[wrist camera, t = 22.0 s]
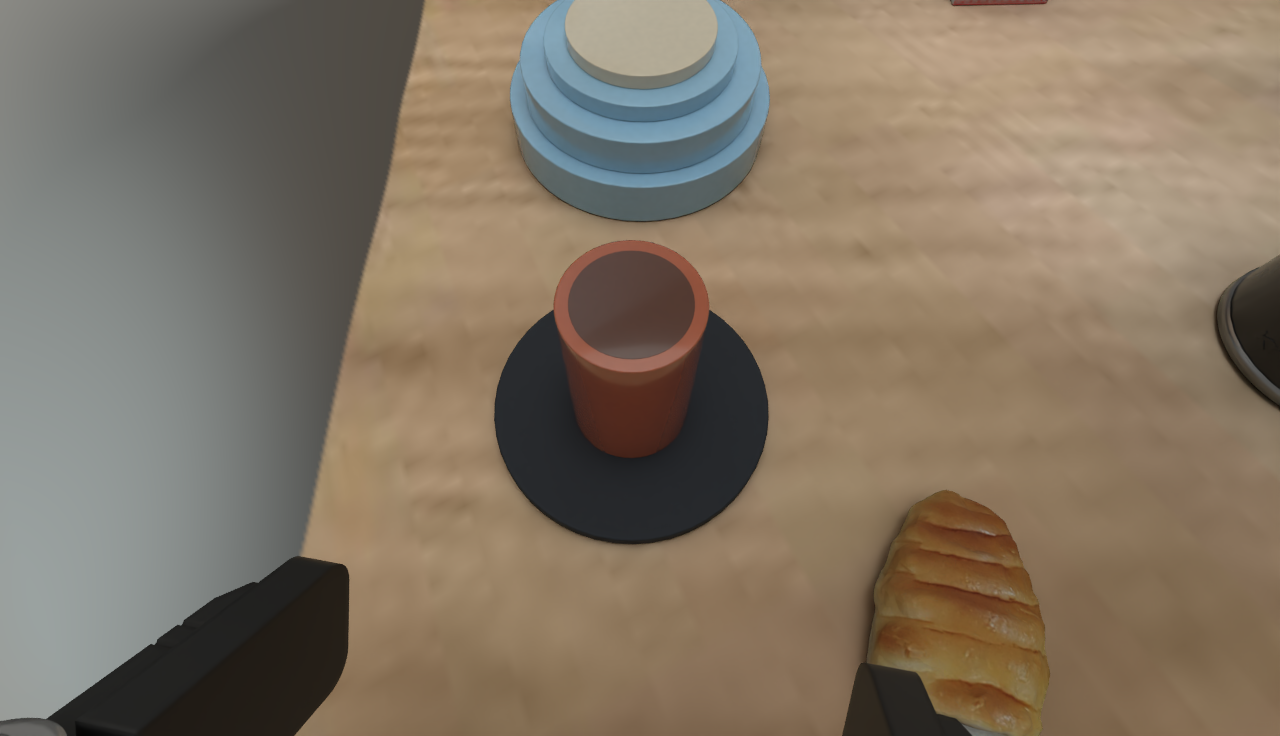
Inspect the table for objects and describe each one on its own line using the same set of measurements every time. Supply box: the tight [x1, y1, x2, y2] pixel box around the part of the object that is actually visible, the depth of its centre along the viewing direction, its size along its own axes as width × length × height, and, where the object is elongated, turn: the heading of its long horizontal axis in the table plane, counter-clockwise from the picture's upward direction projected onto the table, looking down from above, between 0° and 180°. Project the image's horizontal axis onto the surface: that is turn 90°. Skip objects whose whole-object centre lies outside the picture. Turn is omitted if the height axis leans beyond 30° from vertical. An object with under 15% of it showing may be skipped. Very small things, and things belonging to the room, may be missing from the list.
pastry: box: [866, 490, 1050, 736], centre depth 25 cm, size 9×7×4 cm
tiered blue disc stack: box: [510, 0, 770, 221], centre depth 36 cm, size 15×15×7 cm
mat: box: [494, 310, 768, 544], centre depth 30 cm, size 13×13×1 cm
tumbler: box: [554, 240, 709, 458], centre depth 26 cm, size 5×5×9 cm
